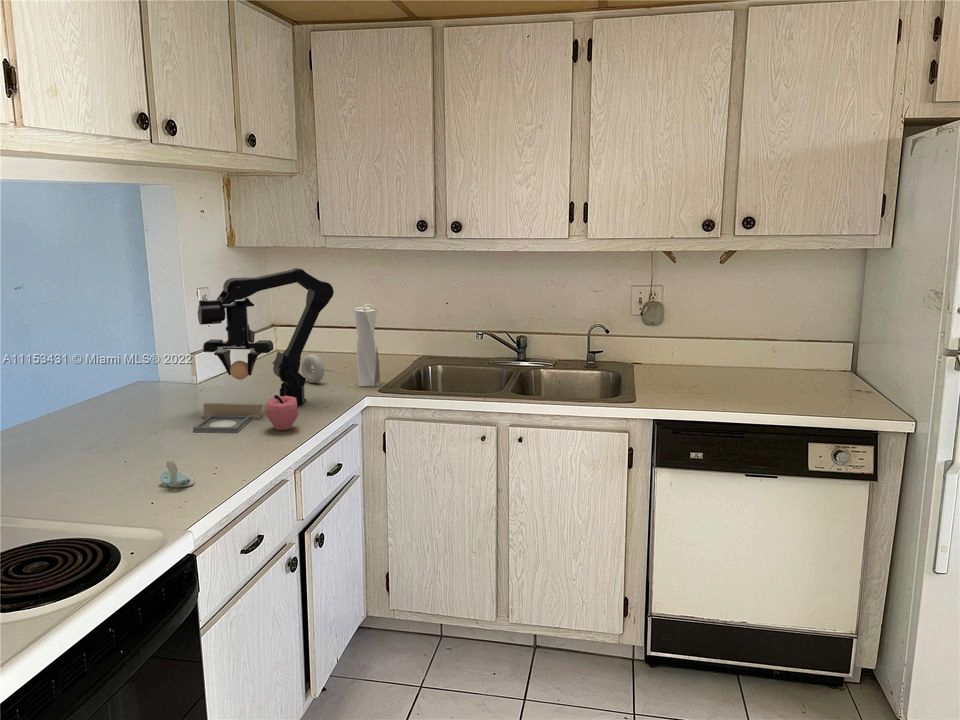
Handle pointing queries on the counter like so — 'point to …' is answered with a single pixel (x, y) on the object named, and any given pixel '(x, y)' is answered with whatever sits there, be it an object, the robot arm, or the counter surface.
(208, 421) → the mat
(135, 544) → the counter surface
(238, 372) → the ball
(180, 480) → the pacifier
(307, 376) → the donut
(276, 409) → the apple
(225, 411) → the tan rectangular bar
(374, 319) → the skyscraper
